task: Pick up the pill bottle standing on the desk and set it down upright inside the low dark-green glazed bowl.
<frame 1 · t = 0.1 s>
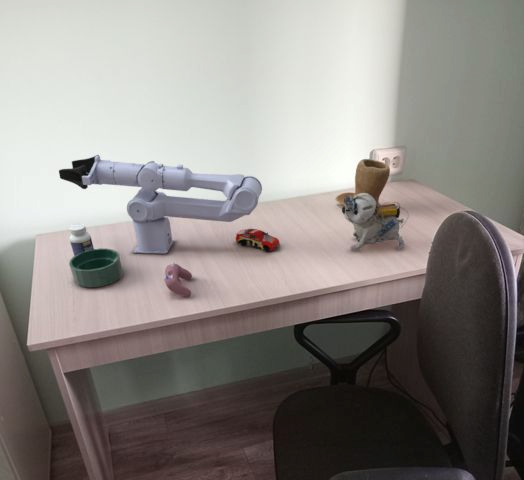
hand: (66, 169, 128), 22 cm above the table, tool horizontal, fingers open, 7 cm apart
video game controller: (180, 289, 121), on the table
robotic toy: (370, 247, 136), on the table
pill bottle: (86, 261, 134), on the table
bowl: (99, 276, 127), on the table
race car: (258, 246, 138), on the table
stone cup: (362, 209, 157), on the table
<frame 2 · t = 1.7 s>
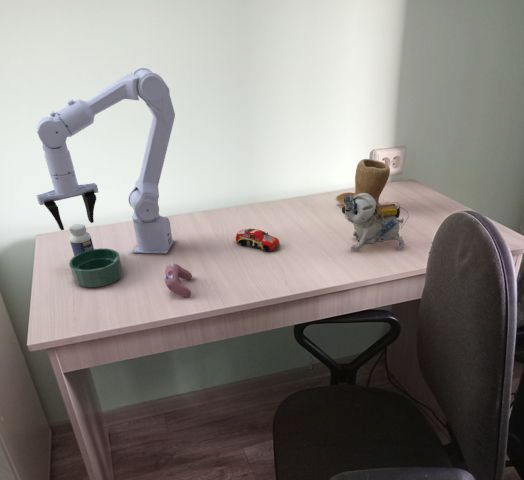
hand: (76, 225, 128), 10 cm above the table, tool pointing down, fingers open, 7 cm apart
nothing on the table moved.
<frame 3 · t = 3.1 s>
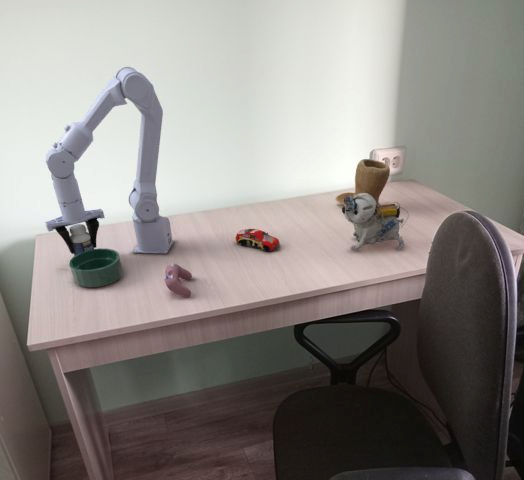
hand: (83, 249, 132), 3 cm above the table, tool pointing down, fingers closed on pill bottle, 5 cm apart
pill bottle: (86, 261, 134), on the table, touching gripper
everything else where it was.
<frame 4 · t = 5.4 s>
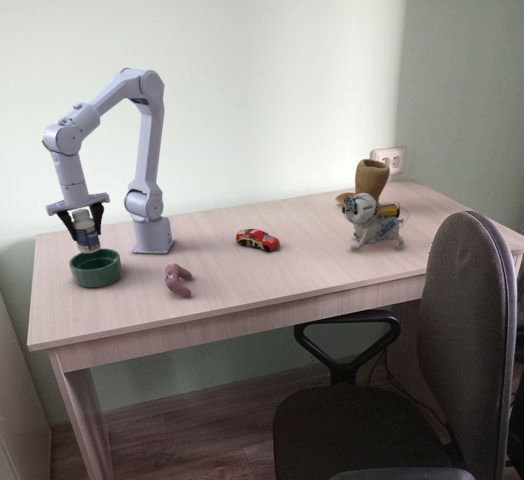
hand: (87, 236, 122), 10 cm above the table, tool pointing down, fingers closed on pill bottle, 5 cm apart
pill bottle: (90, 250, 124), point 7 cm above the table, touching gripper
everything else where it was.
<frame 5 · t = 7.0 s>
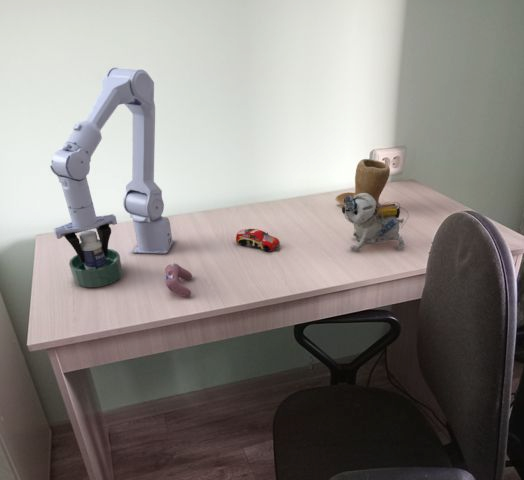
hand: (94, 257, 123), 5 cm above the table, tool pointing down, fingers closed on pill bottle, 5 cm apart
pill bottle: (97, 270, 125), point 2 cm above the table, touching gripper
everything else where it was.
when the fingers open (4 cm above the table, at t = 8.0 s): pill bottle stays where it is, resting on bowl.
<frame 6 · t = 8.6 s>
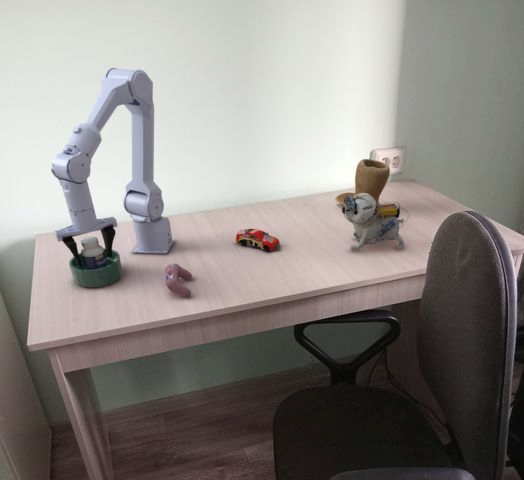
hand: (94, 259, 124), 5 cm above the table, tool pointing down, fingers open, 7 cm apart
pill bottle: (98, 275, 126), resting on bowl
everything else where it was.
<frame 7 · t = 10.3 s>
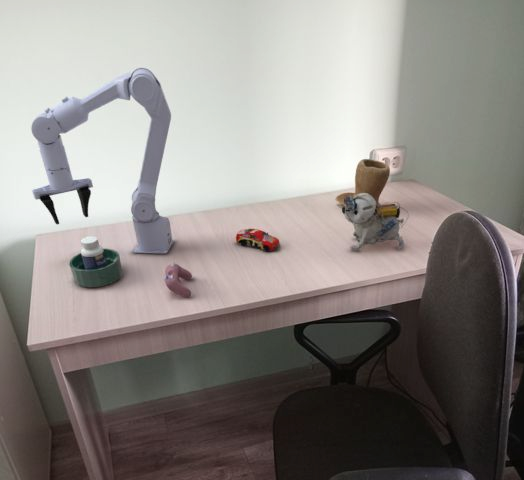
hand: (71, 219, 131), 10 cm above the table, tool pointing down, fingers open, 7 cm apart
nothing on the table moved.
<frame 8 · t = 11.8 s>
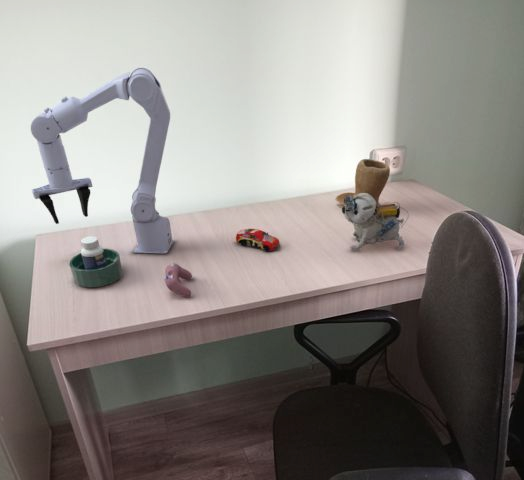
hand: (71, 219, 131), 10 cm above the table, tool pointing down, fingers open, 7 cm apart
nothing on the table moved.
at the end: pill bottle inside the target area in the bowl (0.0 cm from its centre), point 0.3 cm above the bowl's base; pill bottle tilted 0°; the gripper is holding nothing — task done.
